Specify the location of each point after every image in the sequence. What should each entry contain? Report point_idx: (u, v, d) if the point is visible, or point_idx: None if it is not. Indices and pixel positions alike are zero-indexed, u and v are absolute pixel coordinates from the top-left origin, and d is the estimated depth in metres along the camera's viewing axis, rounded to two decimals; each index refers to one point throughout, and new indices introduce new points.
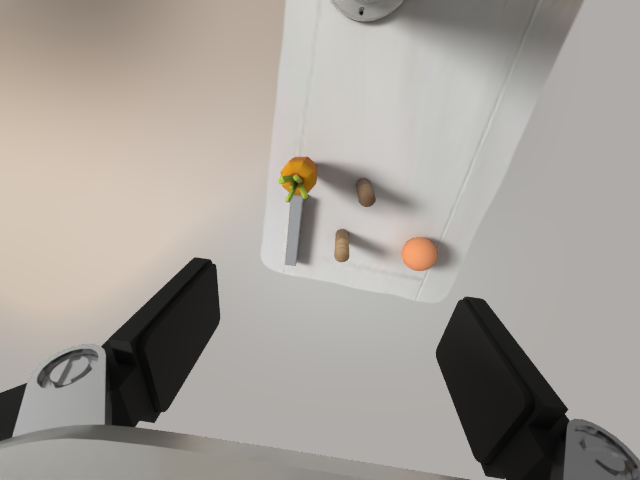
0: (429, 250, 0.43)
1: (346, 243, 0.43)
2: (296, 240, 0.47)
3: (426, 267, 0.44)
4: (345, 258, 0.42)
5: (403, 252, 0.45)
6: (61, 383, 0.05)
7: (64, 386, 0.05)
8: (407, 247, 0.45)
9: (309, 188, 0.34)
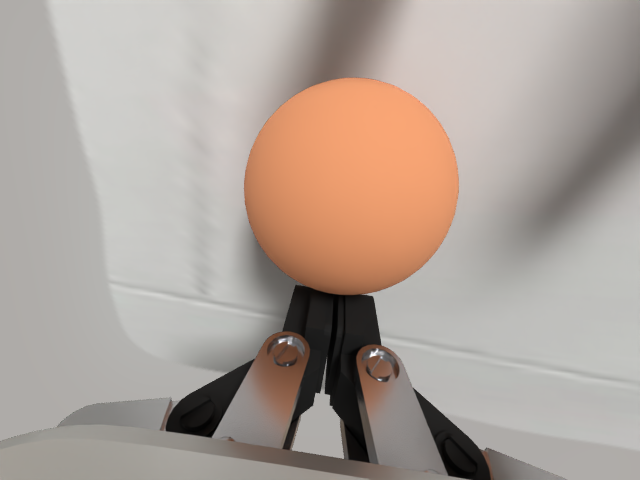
0: (440, 137, 0.05)
1: None
2: None
3: (298, 110, 0.05)
4: None
5: None
6: (277, 360, 0.06)
7: (277, 364, 0.06)
8: None
9: None
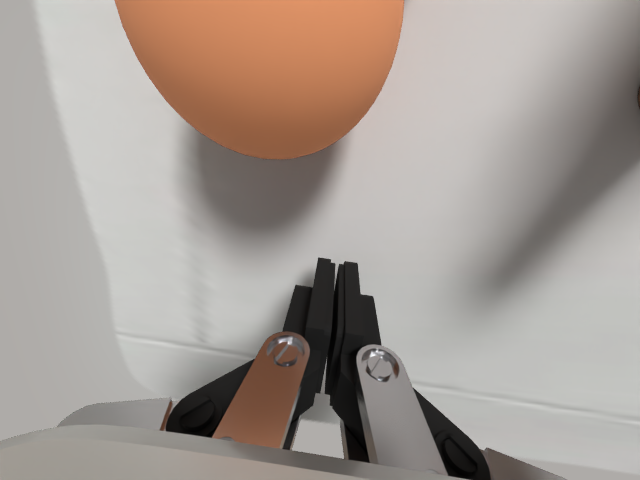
0: None
1: None
2: None
3: None
4: None
5: (269, 156, 0.06)
6: (277, 360, 0.06)
7: (277, 365, 0.06)
8: (323, 142, 0.06)
9: None
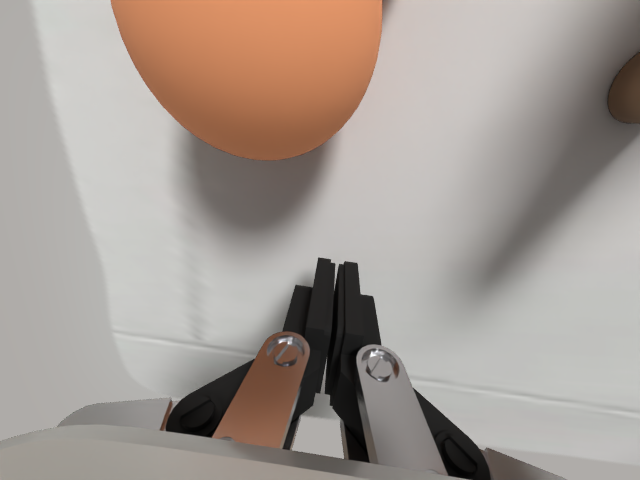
0: None
1: None
2: None
3: None
4: None
5: (260, 157, 0.07)
6: (277, 360, 0.06)
7: (277, 365, 0.06)
8: (309, 144, 0.06)
9: None
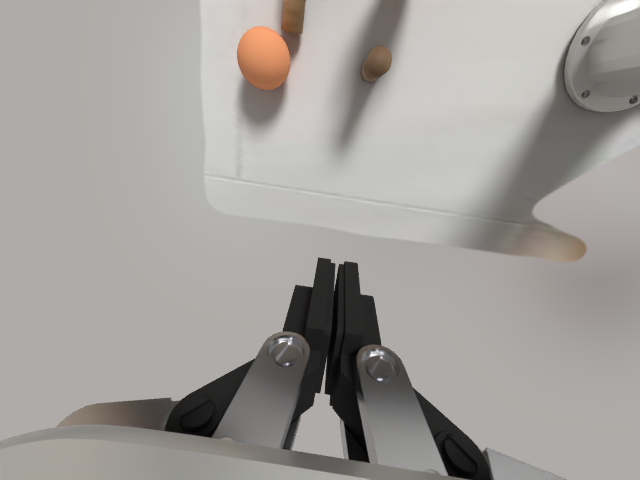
0: None
1: None
2: None
3: None
4: None
5: (264, 87, 0.30)
6: (277, 360, 0.06)
7: (277, 365, 0.06)
8: (274, 83, 0.30)
9: None
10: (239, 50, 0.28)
